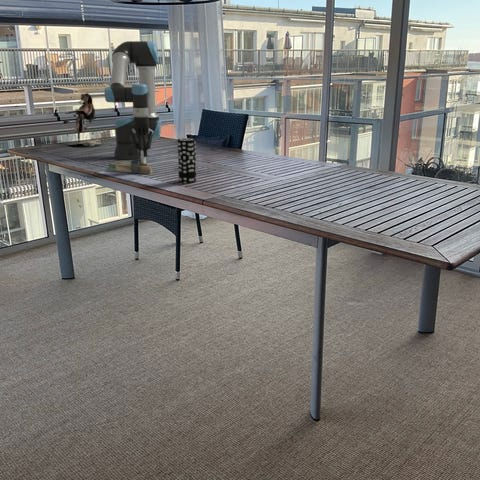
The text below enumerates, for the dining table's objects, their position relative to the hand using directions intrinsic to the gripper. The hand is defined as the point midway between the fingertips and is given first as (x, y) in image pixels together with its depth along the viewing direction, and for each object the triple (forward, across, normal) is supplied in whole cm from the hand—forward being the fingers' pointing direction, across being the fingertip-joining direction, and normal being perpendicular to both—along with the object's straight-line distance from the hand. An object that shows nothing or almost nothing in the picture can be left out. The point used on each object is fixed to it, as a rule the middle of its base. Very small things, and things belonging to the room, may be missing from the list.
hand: (143, 162), depth 266 cm
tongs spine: (+5, -7, -1) cm, 8 cm away
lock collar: (+4, -3, 0) cm, 5 cm away
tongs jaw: (+5, -9, +1) cm, 11 cm away
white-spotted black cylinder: (+5, +30, -12) cm, 33 cm away
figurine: (+5, -81, +67) cm, 106 cm away
